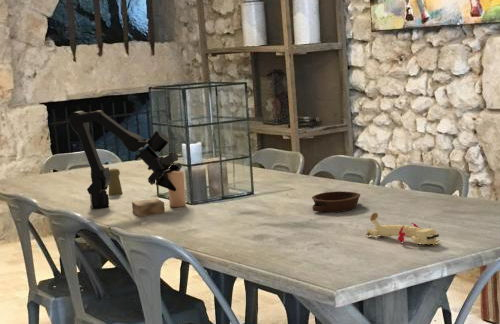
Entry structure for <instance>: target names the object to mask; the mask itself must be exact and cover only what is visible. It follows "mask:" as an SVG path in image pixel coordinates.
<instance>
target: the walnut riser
mask: <svg viewBox="0 0 500 324" xmlns="http://www.w3.org/2000/svg"><path fill="white" fill-rule="evenodd" d="M131 205H132V206H131V207H132V213H133V214H135V215H136V216H137V217H145V216H151V215H157V214H158V215H159V214H165V212H166V210H165V202H164V201H163V200H161V199H159V198H150V199H143V200H135V201H131Z"/></svg>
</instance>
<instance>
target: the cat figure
mask: <svg viewBox="0 0 500 324" xmlns="http://www.w3.org/2000/svg"><path fill="white" fill-rule="evenodd" d="M378 217H379V214H378V213H377V212H373V213H372V214H371V216H370V221H371V223H372V224H373V225H375V226H374V230H373V229H372V228H367V229H366V231H367V232H366V234H365V236H366V235H368V236H369V235H372V237H374V236H377V237H378V235H380V236H384V237H392V236H394V237H397V240H398V242H399V243H400V242H403V243H404V241H405V238H407V239H408V238H410V239H411V240H413V243H415V244H418V243H421V244H428V245H430V244H436V243H437V244H438V243H439V242H440V241H441V240H440V239H438V240H437V238H439V237H440V234H439V232H436V230H435V229H434V228H427V227H426V228H423V229H422V228H421V227H419V226H418V225H417V224H416V223H414V222H411V225H413V226H410V225H406V224H405V225H403V224H387V225H384V224H382V225H381V223H379V222H378V220H377V219H378Z"/></svg>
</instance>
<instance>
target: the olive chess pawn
mask: <svg viewBox="0 0 500 324" xmlns="http://www.w3.org/2000/svg"><path fill="white" fill-rule="evenodd" d="M109 172H110V174H111V175H112V177H111V183H110V184H109V185H108V196H119V195H123V190H122V184H121V180H120V174H121V172H120V170H119V169H118V168H109Z"/></svg>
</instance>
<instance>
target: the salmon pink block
mask: <svg viewBox="0 0 500 324" xmlns="http://www.w3.org/2000/svg"><path fill="white" fill-rule="evenodd" d="M167 174H168V179H169V180H170V181H171V183H172V184H173V185H174V186H175V188H176V191H172V190H170V189H167V190H168V201H169V202H168V203H169V207H171V208H181V207H185V206H186V205H187V201H186V187H185V172H184V171H183V170H182V171H181V170H180V171H173V172H168V173H167Z"/></svg>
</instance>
